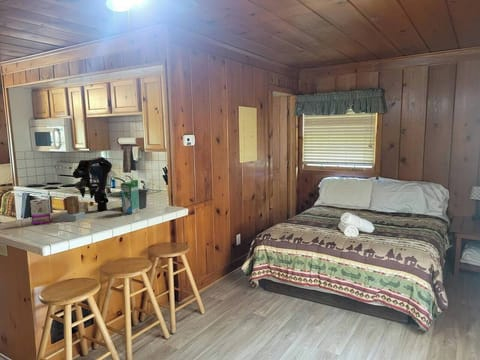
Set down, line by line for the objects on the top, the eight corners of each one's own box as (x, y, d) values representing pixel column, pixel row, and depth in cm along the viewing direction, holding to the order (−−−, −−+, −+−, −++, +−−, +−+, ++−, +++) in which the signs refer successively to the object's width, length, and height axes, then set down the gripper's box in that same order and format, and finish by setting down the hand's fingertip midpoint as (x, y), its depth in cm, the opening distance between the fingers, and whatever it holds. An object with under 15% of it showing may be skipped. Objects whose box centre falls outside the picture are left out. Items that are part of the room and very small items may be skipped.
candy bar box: (51, 221, 245) (49, 198, 243) (50, 223, 241) (48, 199, 239) (32, 223, 240) (30, 199, 238) (31, 225, 236) (29, 201, 234)
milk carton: (122, 213, 268) (120, 180, 265) (130, 211, 276) (128, 179, 273) (132, 214, 264) (130, 181, 261) (139, 211, 273) (137, 179, 270)
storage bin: (119, 208, 288) (117, 191, 286) (131, 204, 302) (130, 188, 300) (140, 210, 280) (139, 192, 278) (152, 206, 294) (151, 189, 292)
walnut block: (73, 212, 255) (72, 195, 254) (79, 212, 253) (78, 196, 252) (67, 213, 250) (65, 197, 249) (73, 214, 248) (72, 197, 247)
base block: (71, 217, 258) (71, 211, 258) (85, 218, 256) (85, 212, 256) (61, 221, 248) (61, 215, 247) (76, 221, 246) (75, 215, 245)
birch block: (84, 211, 277) (83, 201, 276) (88, 212, 275) (87, 202, 274) (78, 213, 273) (77, 202, 272) (82, 213, 271) (82, 203, 270)
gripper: (67, 177, 259) (69, 198, 261) (85, 178, 250) (86, 200, 252) (81, 176, 269) (82, 196, 271) (98, 176, 260) (99, 197, 262)
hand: (87, 197), depth 264 cm, fingers open, 9 cm apart
